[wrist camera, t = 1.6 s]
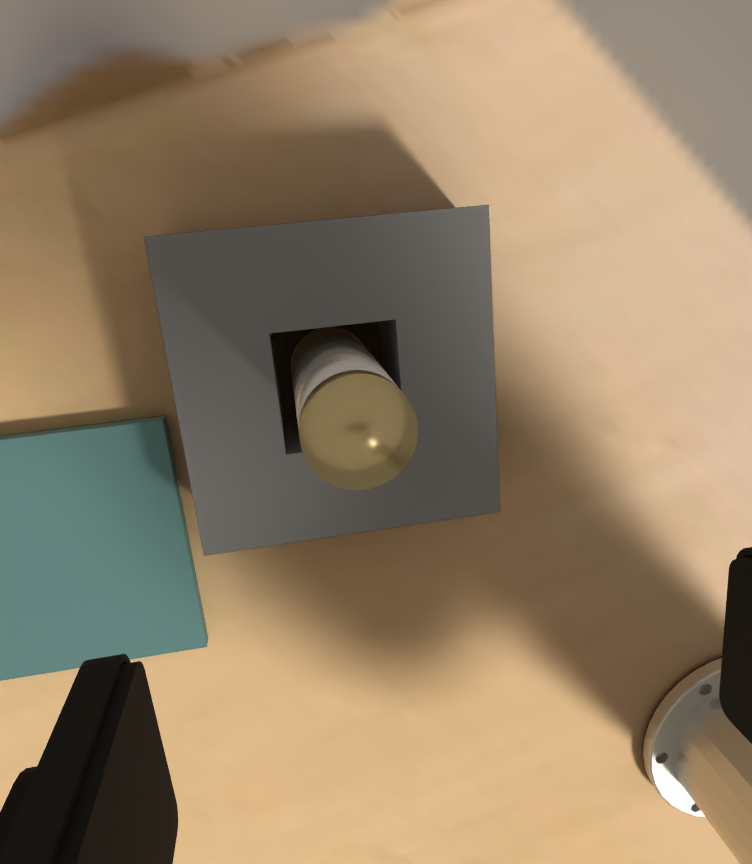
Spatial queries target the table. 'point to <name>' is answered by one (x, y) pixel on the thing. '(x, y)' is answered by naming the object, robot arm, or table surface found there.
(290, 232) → the block
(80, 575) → the mat
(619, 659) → the table surface
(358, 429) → the peg
